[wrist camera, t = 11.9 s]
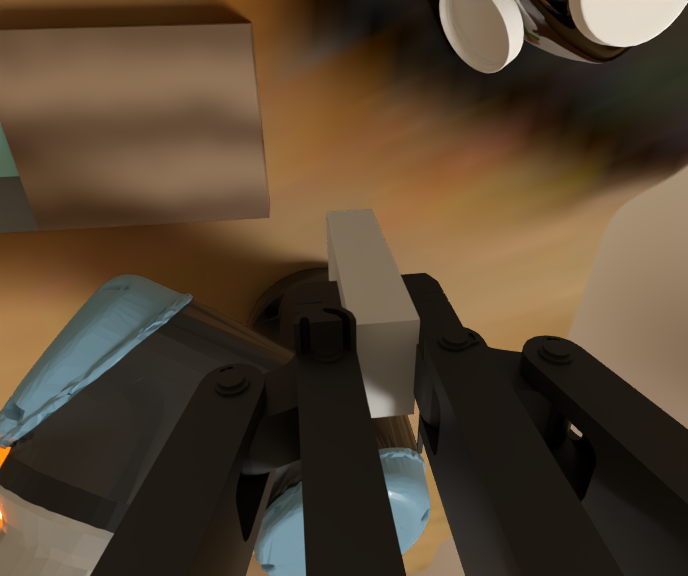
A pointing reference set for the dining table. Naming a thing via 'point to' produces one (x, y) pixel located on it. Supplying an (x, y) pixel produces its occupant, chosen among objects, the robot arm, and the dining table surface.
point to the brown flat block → (134, 123)
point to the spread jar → (552, 28)
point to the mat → (15, 207)
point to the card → (6, 158)
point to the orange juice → (0, 457)
